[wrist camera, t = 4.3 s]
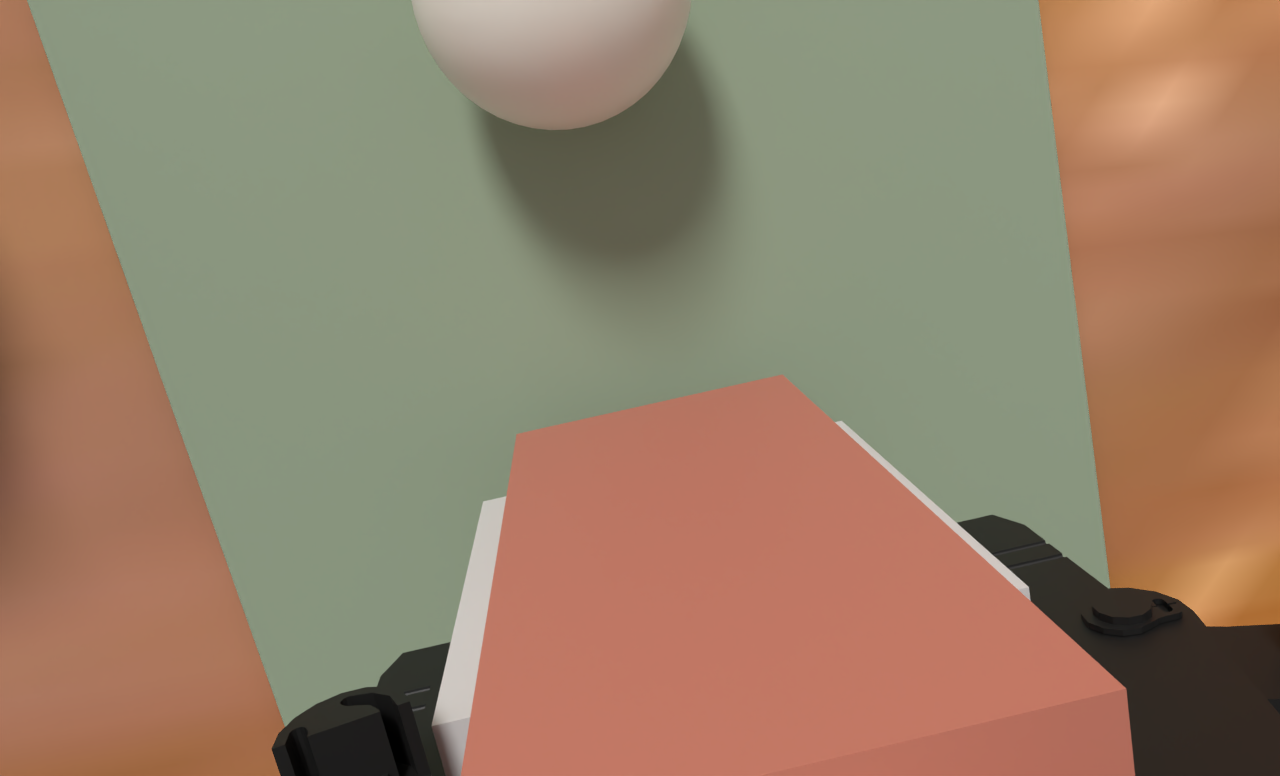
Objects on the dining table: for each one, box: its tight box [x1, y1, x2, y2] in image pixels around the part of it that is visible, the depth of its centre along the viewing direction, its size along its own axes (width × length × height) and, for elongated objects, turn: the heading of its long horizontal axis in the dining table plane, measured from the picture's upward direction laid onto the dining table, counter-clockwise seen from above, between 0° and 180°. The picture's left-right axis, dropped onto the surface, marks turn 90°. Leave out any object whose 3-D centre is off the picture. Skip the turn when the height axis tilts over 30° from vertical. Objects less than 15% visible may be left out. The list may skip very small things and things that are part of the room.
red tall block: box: [461, 374, 1135, 776], centre depth 11 cm, size 4×4×12 cm
